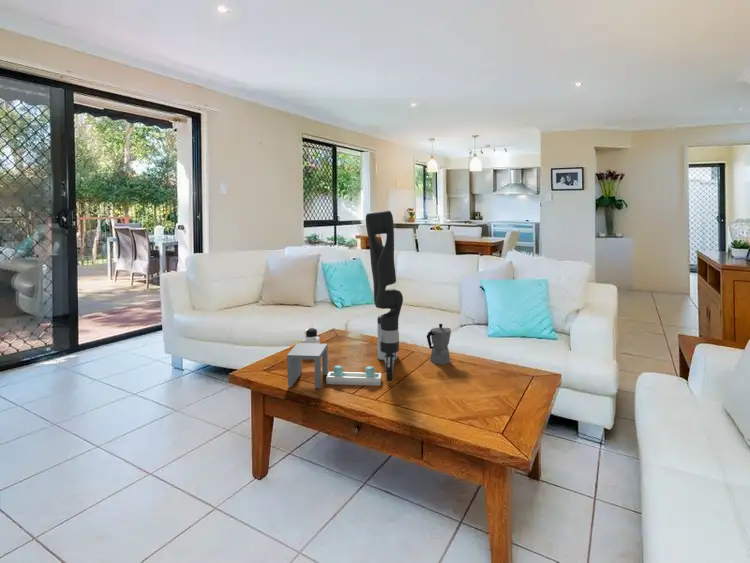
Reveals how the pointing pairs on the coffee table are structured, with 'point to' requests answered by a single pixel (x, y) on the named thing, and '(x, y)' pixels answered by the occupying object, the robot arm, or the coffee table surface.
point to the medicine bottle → (311, 336)
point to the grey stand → (307, 352)
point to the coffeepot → (439, 345)
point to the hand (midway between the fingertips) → (389, 380)
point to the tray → (354, 377)
